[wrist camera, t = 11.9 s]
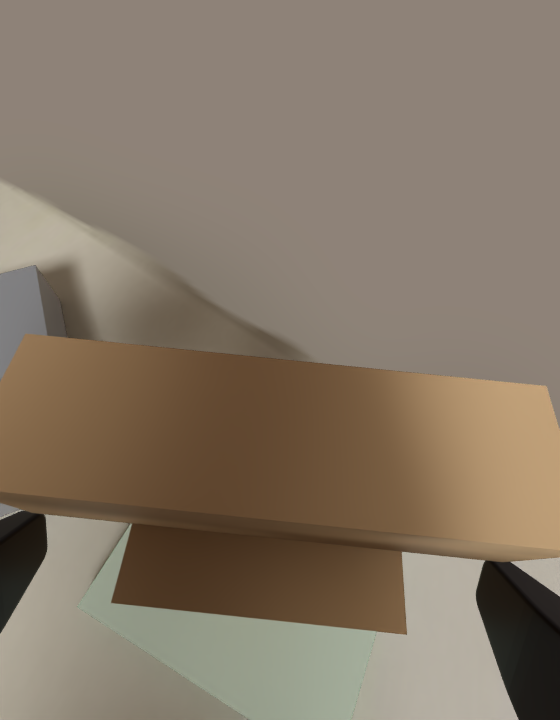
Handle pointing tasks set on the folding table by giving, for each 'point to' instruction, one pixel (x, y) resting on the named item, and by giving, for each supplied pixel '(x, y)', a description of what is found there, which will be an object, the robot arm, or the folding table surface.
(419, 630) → the folding table surface
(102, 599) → the rubber pad
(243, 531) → the t key
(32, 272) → the gray square ring
